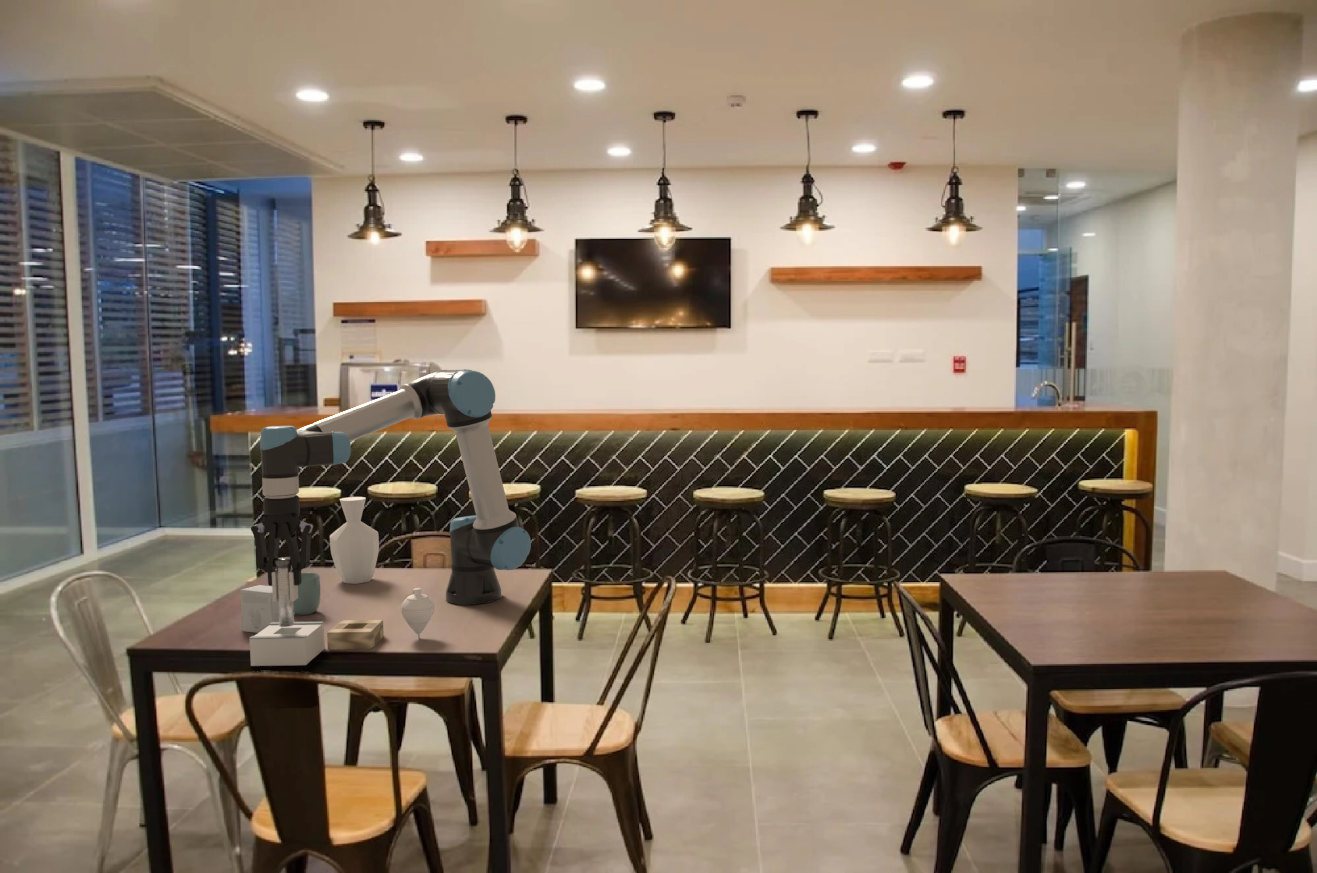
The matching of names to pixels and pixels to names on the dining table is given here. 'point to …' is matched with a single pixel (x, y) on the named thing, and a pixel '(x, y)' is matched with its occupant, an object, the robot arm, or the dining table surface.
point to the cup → (308, 594)
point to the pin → (284, 592)
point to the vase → (354, 544)
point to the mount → (355, 634)
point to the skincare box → (258, 608)
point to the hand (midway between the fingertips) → (285, 599)
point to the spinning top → (417, 610)
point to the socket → (287, 644)
